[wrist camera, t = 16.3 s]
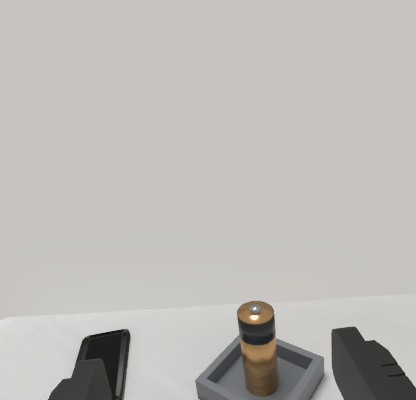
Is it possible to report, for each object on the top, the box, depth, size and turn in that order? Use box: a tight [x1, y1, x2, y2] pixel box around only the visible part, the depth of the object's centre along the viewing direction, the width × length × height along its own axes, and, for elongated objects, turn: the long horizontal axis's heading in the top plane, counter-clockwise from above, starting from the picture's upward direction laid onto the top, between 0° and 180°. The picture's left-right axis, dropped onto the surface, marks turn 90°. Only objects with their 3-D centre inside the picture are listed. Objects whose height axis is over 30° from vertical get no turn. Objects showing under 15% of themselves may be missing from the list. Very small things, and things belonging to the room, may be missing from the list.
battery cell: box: [237, 301, 279, 397], centre depth 46 cm, size 4×4×12 cm
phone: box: [72, 329, 130, 400], centre depth 54 cm, size 8×1×15 cm
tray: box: [195, 334, 324, 400], centre depth 47 cm, size 12×12×3 cm
